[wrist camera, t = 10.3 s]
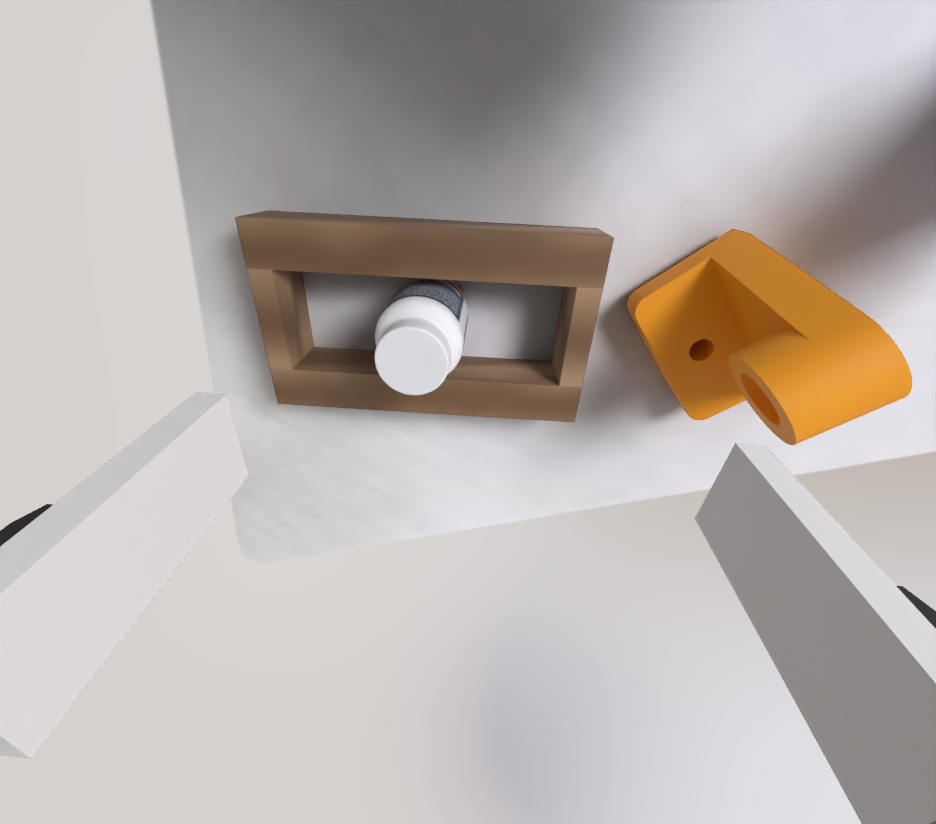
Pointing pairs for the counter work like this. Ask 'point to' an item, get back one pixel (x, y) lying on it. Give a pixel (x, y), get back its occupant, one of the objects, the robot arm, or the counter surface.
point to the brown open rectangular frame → (430, 257)
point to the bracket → (765, 341)
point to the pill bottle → (421, 335)
